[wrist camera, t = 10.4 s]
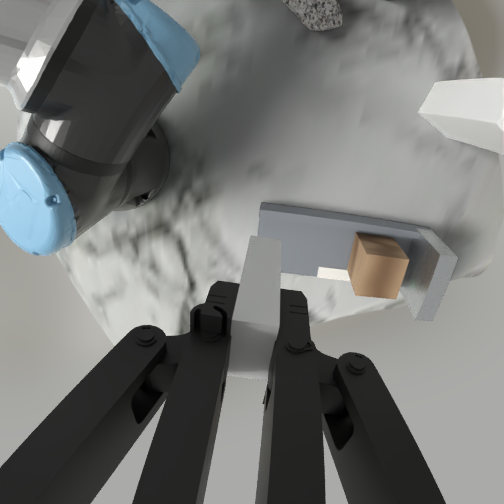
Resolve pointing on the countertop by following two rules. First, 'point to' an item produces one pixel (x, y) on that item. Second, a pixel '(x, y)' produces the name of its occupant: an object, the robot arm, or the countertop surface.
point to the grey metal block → (427, 274)
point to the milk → (468, 111)
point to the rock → (317, 13)
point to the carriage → (376, 266)
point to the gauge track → (324, 237)
